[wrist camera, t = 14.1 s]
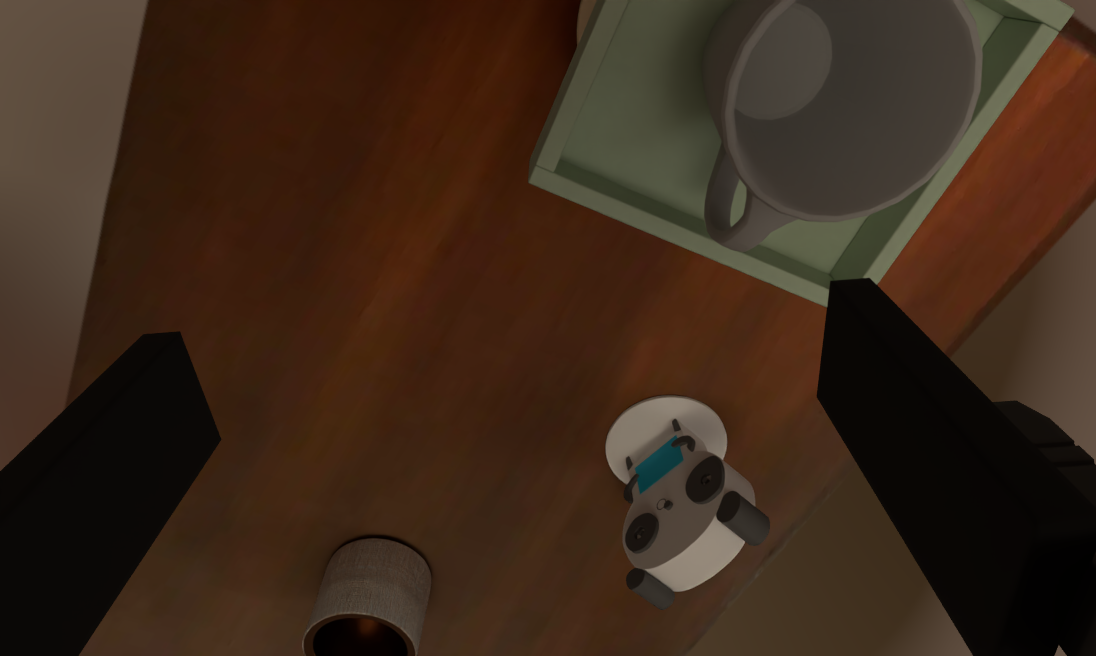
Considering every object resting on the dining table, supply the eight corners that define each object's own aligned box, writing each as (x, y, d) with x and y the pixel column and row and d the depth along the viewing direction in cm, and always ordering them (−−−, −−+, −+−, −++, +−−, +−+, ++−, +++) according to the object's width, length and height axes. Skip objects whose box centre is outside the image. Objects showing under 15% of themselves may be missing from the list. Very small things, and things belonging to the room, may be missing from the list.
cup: (908, 9, 27) (1044, 33, 20) (766, 230, 32) (834, 318, 24) (740, -85, 26) (820, -97, 18) (616, 160, 30) (639, 232, 23)
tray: (534, 80, 50) (525, 187, 28) (620, -133, 44) (695, -213, 22) (723, 165, 53) (850, 322, 31) (829, -24, 47) (1080, 3, 25)
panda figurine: (675, 368, 62) (709, 482, 49) (756, 438, 66) (809, 562, 52) (580, 447, 66) (588, 572, 53) (661, 509, 70) (688, 640, 57)
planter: (352, 614, 77) (328, 696, 69) (312, 544, 72) (281, 623, 64) (446, 597, 76) (433, 678, 67) (412, 525, 71) (394, 603, 62)
